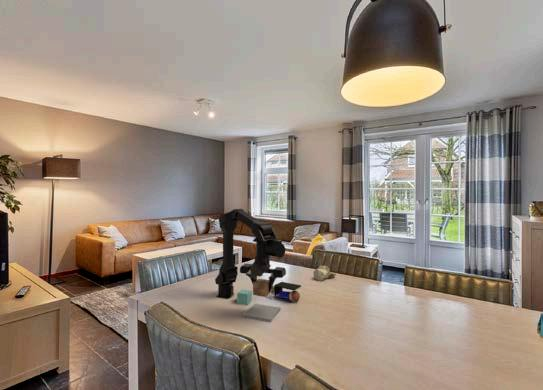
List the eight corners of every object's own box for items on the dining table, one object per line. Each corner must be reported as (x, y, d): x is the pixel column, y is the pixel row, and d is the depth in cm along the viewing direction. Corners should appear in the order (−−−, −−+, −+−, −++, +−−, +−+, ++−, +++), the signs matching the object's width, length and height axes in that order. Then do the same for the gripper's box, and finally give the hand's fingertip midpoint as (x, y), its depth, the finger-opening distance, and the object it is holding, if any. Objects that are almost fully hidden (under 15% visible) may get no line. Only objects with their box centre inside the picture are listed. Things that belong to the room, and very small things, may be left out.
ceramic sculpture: (309, 264, 165) (321, 261, 177) (308, 279, 165) (320, 275, 177) (325, 267, 158) (337, 264, 170) (324, 283, 158) (336, 278, 170)
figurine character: (268, 300, 137) (295, 304, 128) (267, 284, 137) (294, 287, 128) (276, 296, 142) (303, 300, 133) (275, 280, 143) (301, 283, 134)
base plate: (243, 316, 115) (243, 314, 115) (254, 305, 127) (254, 303, 126) (271, 321, 111) (271, 319, 111) (280, 309, 122) (280, 307, 122)
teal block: (237, 303, 129) (237, 292, 129) (241, 299, 134) (241, 289, 134) (247, 305, 127) (247, 294, 127) (251, 301, 132) (251, 290, 132)
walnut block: (252, 294, 117) (253, 282, 117) (258, 290, 123) (258, 278, 122) (266, 296, 115) (266, 284, 115) (271, 292, 121) (271, 280, 120)
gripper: (233, 255, 114) (233, 294, 114) (278, 260, 108) (277, 301, 108) (245, 250, 125) (245, 285, 125) (286, 254, 118) (286, 291, 119)
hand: (262, 290), depth 119 cm, fingers closed on walnut block, 6 cm apart
